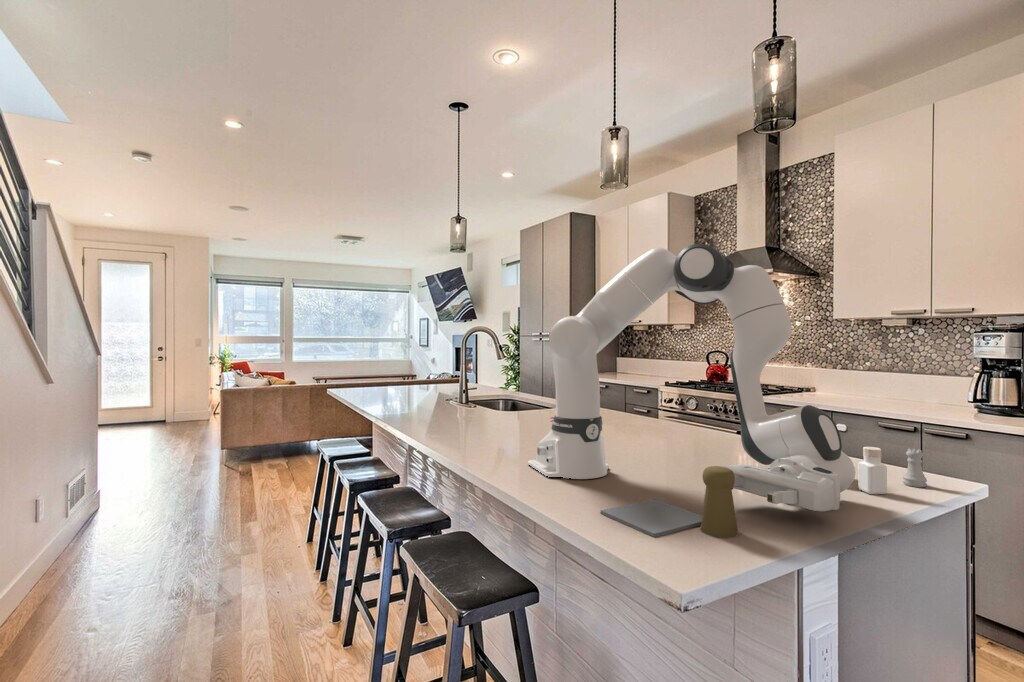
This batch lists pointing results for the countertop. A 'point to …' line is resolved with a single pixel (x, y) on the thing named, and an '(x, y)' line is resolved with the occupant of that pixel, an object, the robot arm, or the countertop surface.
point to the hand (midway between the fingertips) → (746, 491)
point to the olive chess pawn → (719, 503)
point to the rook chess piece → (914, 469)
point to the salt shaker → (872, 472)
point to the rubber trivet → (654, 517)
